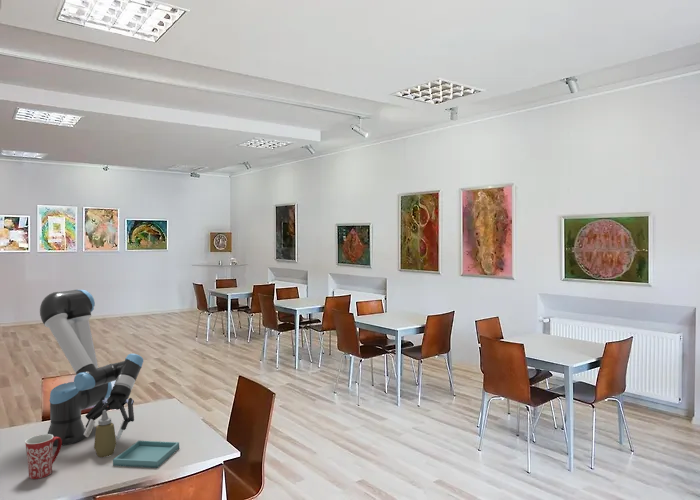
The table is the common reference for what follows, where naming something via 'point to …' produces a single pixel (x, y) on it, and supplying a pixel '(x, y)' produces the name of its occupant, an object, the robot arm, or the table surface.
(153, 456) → the tray
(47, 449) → the mug
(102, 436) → the squeeze bottle
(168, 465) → the table surface
